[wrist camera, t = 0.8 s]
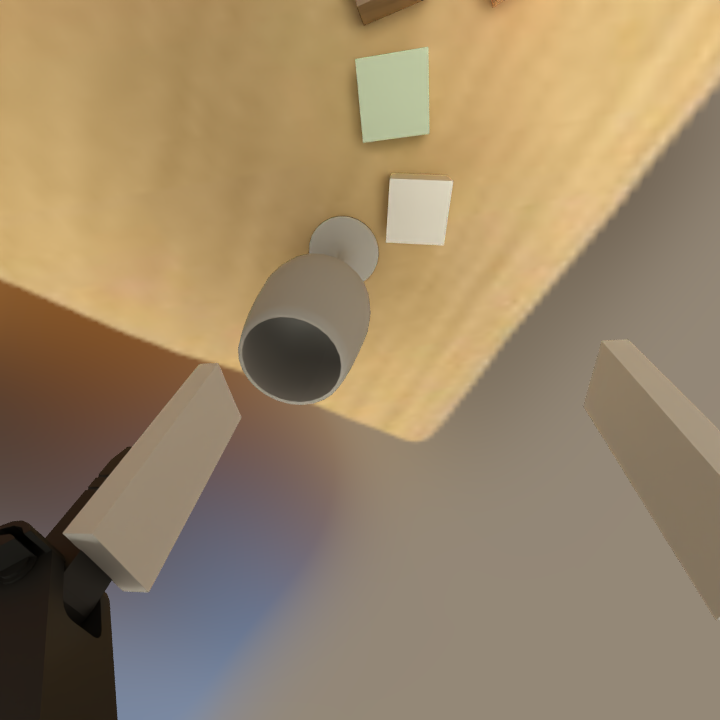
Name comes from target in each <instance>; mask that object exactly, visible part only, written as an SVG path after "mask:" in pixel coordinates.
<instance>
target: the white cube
mask: <svg viewBox="0 0 720 720" xmlns="http://www.w3.org/2000/svg"><path fill="white" fill-rule="evenodd" d="M452 186H453V180H452V179H451V178H450V177H449V176H448V175H439V174H412V173H391V176H390V184H389V200H388V216H387V233H386V242H387V243H407V244H427V245H444V241H445V234H446V227H447V220H448V214H449V207H450V200H451V193H452Z"/></svg>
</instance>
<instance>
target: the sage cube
mask: <svg viewBox="0 0 720 720" xmlns="http://www.w3.org/2000/svg"><path fill="white" fill-rule="evenodd" d="M355 63H356V74H357V84H358V95H359V105H360V116H361V126H362V137H363V143H365V142H373V141H380V140H387V139H395V138H402V137H410V136H417V135H425V134H429V59H428V47H424V48H418V49H412V50H406V51H400V52H394V53H388V54H382V55H376V56H370V57H364V58H358V59H355Z"/></svg>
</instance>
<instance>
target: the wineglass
mask: <svg viewBox="0 0 720 720" xmlns="http://www.w3.org/2000/svg"><path fill="white" fill-rule="evenodd" d="M378 255H379V253H378V244H377V241H376V238H375V236H374V235H373V233H372V231H371V230H370V229H369V228H368V227H367V226H366V225H365V224H364V223H362V222H361V221H359V220H357V219H355V218H352V217H348V216H337V217H333V218H330V219H328V220H326V221H324V222H323V223H322V224H320V225H319V226H318V227H317V228H316V230H315V232H314V233H313V235H312V237H311V240H310V244H309V254H305V255H300V256H297V257H295V258H293V259H291V260H289V261H287V262H286V263H284V264H282V265H281V266H280V267H279V268H278V269H277V270H276V271H275V272H274V273H273V274H272V275H271V276H270V277H269V278H268V279H267V281H266V282H265V284H264V286H263V287H262V289H261V291H260V293H259V294H258V296H257V298H256V300H255V302H254V304H253V306H252V308H251V310H250V312H249V314H248V317H247V319H246V322H245V325H244V328H243V331H242V335H241V339H240V343H239V347H238V353H239V361H240V364H241V367H242V370H243V372H244V373H245V375H246V376H247V378H248V380H249V381H250V382H251V383H252V384H253V385H254V386H255V387H256V388H257V389H259V390H260V391H261V392H263V393H264V394H265V395H267V396H269V397H271V398H273V399H275V400H277V401H281V402H285V403H288V404H297V405H304V404H313V403H316V402H319V401H322V400H324V399H326V398H327V397H329V396H330V395H332V394H333V393H334V392H335V391H336V389H337V388H338V387H339V386H340V385H341V383H342V382H343V381H344V379H345V377H346V376H347V374H348V372H349V371H350V369H351V367H352V365H353V363H354V361H355V359H356V357H357V355H358V353H359V351H360V348H361V346H362V344H363V342H364V339H365V337H366V334H367V332H368V326H369V320H370V303H369V295H368V292H367V289H366V286H365V284H364V281H365V280H366V279H367V278H369V277H370V275H371V274H372V273H373V271H374V269H375V267H376V265H377V261H378Z"/></svg>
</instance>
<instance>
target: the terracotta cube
mask: <svg viewBox="0 0 720 720" xmlns="http://www.w3.org/2000/svg"><path fill="white" fill-rule="evenodd" d="M503 1H504V0H491V2H492V7H495V6H497V5H498V4H500V3H501V2H503Z"/></svg>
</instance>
